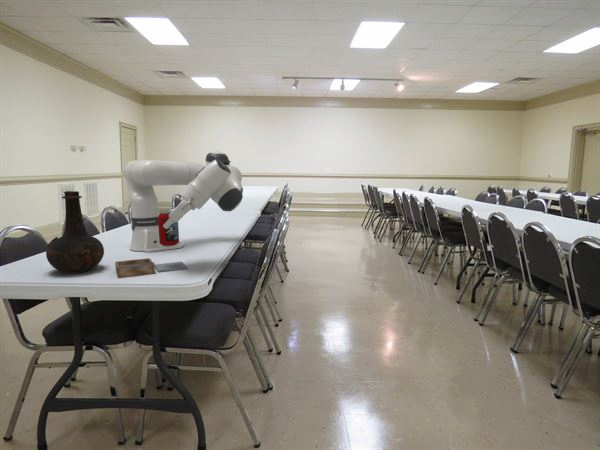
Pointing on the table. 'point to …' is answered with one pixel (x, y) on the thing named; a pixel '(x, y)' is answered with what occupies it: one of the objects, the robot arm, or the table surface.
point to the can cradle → (134, 267)
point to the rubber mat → (170, 266)
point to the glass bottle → (74, 241)
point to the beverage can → (167, 230)
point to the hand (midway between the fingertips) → (166, 225)
